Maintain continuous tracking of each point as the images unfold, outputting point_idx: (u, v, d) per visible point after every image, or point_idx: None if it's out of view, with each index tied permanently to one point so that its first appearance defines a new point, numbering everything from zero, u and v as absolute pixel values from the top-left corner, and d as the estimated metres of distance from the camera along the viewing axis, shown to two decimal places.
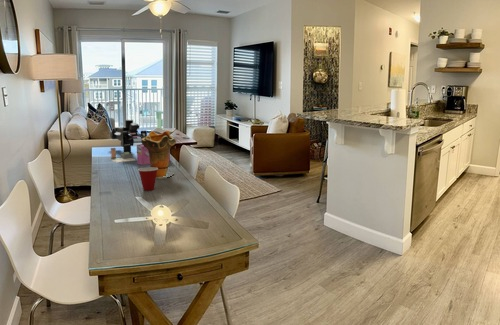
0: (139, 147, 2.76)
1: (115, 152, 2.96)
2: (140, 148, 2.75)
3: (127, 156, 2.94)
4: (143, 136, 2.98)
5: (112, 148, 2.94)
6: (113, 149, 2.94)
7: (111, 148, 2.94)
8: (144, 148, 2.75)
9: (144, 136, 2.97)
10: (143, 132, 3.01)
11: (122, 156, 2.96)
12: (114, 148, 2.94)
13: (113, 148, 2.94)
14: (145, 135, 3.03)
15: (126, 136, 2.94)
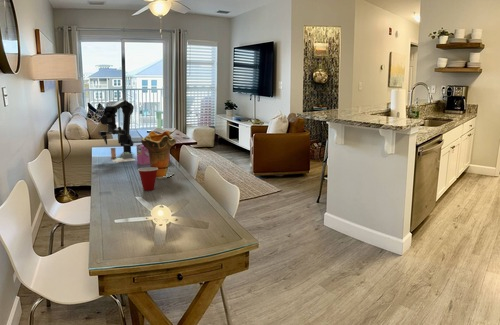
0: (139, 147, 2.76)
1: (115, 152, 2.96)
2: (140, 148, 2.75)
3: (127, 156, 2.94)
4: (118, 140, 2.97)
5: (112, 148, 2.94)
6: (113, 149, 2.94)
7: (111, 148, 2.94)
8: (144, 148, 2.75)
9: None
10: (121, 135, 2.95)
11: (122, 156, 2.96)
12: (114, 148, 2.94)
13: (113, 148, 2.94)
14: None
15: None
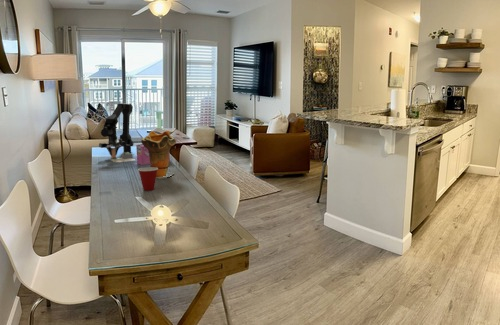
0: (139, 147, 2.76)
1: (115, 152, 2.96)
2: (140, 148, 2.75)
3: (127, 156, 2.94)
4: None
5: (112, 148, 2.94)
6: (113, 149, 2.94)
7: (111, 148, 2.94)
8: (144, 148, 2.75)
9: None
10: (118, 147, 2.95)
11: (122, 156, 2.96)
12: (114, 148, 2.94)
13: (113, 148, 2.94)
14: None
15: (107, 147, 2.93)
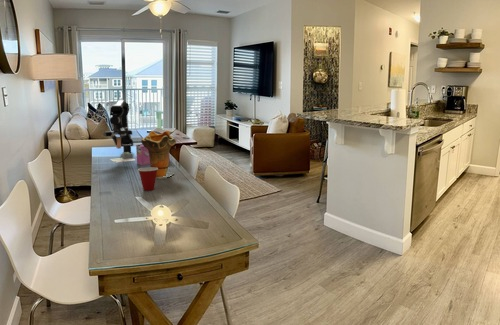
0: (139, 147, 2.76)
1: (120, 141, 2.82)
2: (140, 148, 2.75)
3: (127, 156, 2.94)
4: None
5: (117, 137, 2.80)
6: (118, 138, 2.80)
7: (116, 137, 2.80)
8: (143, 148, 2.75)
9: None
10: (123, 136, 2.81)
11: (122, 156, 2.96)
12: (119, 137, 2.80)
13: (118, 137, 2.80)
14: (124, 135, 2.84)
15: (112, 136, 2.79)
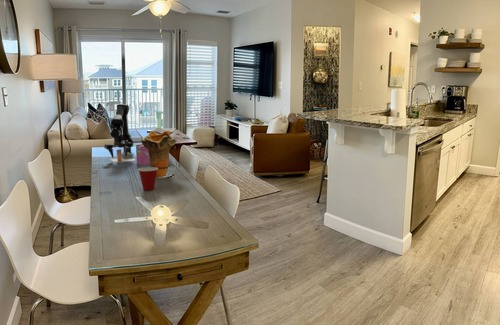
0: (138, 147, 2.75)
1: (121, 154, 2.85)
2: (139, 148, 2.75)
3: (127, 156, 2.94)
4: (125, 153, 2.88)
5: (118, 150, 2.83)
6: (119, 151, 2.83)
7: (117, 150, 2.83)
8: (143, 148, 2.74)
9: (125, 156, 2.88)
10: (128, 149, 2.87)
11: (122, 156, 2.96)
12: (120, 150, 2.83)
13: (119, 150, 2.83)
14: None
15: (108, 149, 2.80)
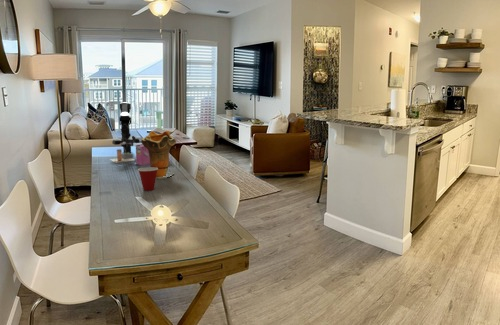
0: (138, 147, 2.75)
1: (121, 154, 2.85)
2: (139, 148, 2.74)
3: (127, 156, 2.94)
4: None
5: (118, 150, 2.83)
6: (119, 151, 2.83)
7: (117, 150, 2.83)
8: (143, 148, 2.74)
9: None
10: (129, 145, 2.95)
11: (122, 156, 2.96)
12: (120, 150, 2.84)
13: (119, 150, 2.83)
14: None
15: (122, 144, 2.94)
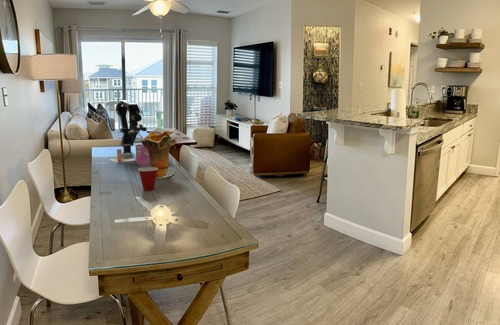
0: (138, 147, 2.75)
1: (121, 154, 2.85)
2: (139, 148, 2.74)
3: (127, 156, 2.94)
4: None
5: (118, 150, 2.83)
6: (119, 151, 2.83)
7: (117, 150, 2.83)
8: (143, 148, 2.74)
9: (134, 140, 3.01)
10: (136, 133, 2.99)
11: (122, 156, 2.96)
12: (120, 150, 2.84)
13: (119, 150, 2.83)
14: None
15: (130, 132, 2.99)
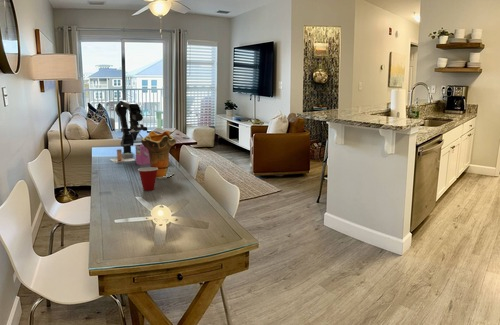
0: (138, 147, 2.75)
1: (121, 154, 2.85)
2: (139, 148, 2.74)
3: (127, 156, 2.94)
4: None
5: (118, 150, 2.83)
6: (119, 151, 2.83)
7: (117, 150, 2.83)
8: (143, 148, 2.74)
9: None
10: (137, 133, 3.00)
11: (122, 156, 2.96)
12: (120, 150, 2.84)
13: (119, 150, 2.83)
14: (138, 131, 3.03)
15: None
